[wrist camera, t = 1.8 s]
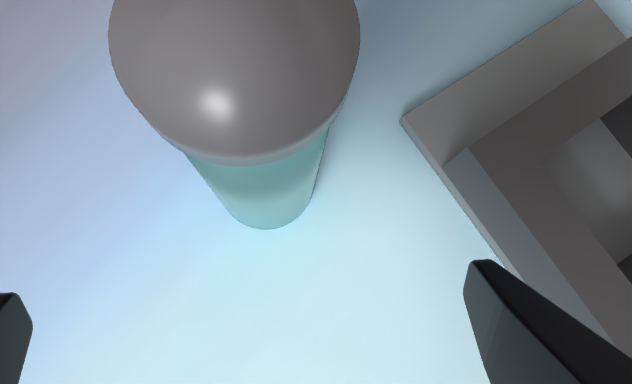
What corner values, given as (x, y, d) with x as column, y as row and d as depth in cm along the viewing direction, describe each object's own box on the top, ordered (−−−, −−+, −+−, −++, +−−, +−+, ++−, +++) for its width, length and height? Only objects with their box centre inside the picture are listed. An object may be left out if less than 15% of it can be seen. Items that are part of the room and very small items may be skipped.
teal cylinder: (337, 196, 22) (408, 65, 9) (249, 254, 21) (193, 199, 8) (281, 114, 22) (273, -115, 10) (194, 167, 22) (61, -7, 9)
